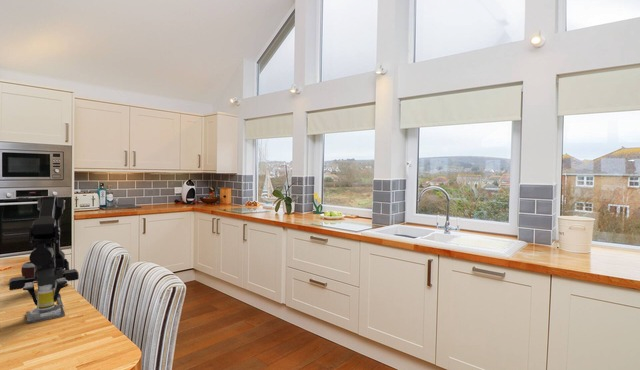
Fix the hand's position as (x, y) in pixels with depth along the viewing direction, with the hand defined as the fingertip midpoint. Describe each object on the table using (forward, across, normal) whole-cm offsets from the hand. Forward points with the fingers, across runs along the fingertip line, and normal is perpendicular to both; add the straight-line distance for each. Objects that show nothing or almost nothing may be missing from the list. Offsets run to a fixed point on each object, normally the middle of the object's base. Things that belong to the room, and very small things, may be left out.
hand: (45, 303), depth 123 cm
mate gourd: (+5, -2, +53) cm, 53 cm away
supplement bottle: (+2, 0, 0) cm, 2 cm away
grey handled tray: (+4, 0, +8) cm, 9 cm away
